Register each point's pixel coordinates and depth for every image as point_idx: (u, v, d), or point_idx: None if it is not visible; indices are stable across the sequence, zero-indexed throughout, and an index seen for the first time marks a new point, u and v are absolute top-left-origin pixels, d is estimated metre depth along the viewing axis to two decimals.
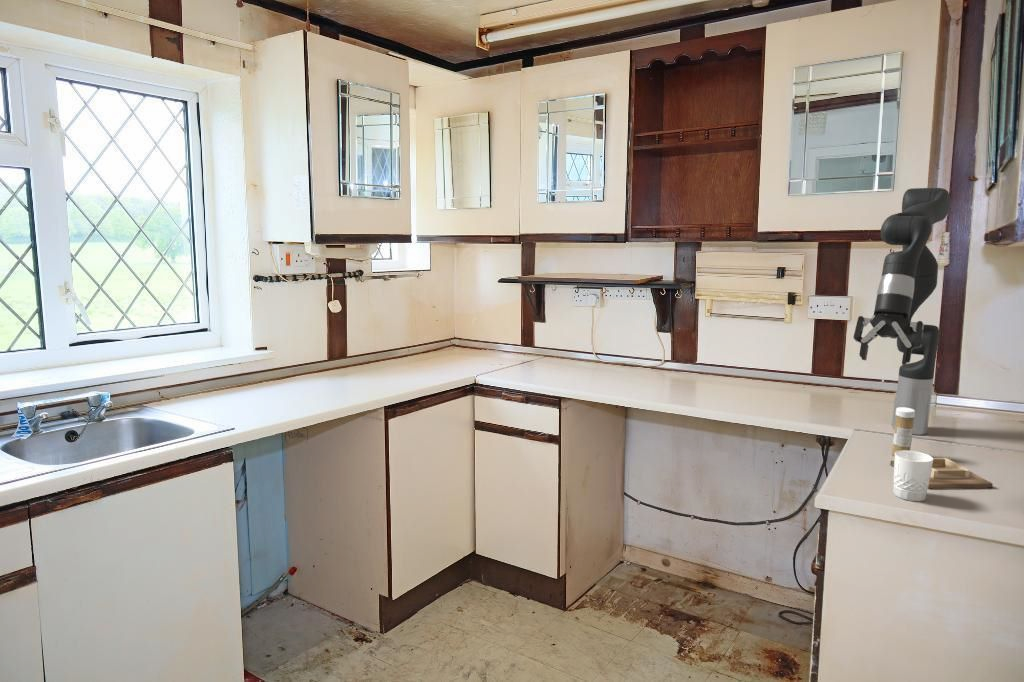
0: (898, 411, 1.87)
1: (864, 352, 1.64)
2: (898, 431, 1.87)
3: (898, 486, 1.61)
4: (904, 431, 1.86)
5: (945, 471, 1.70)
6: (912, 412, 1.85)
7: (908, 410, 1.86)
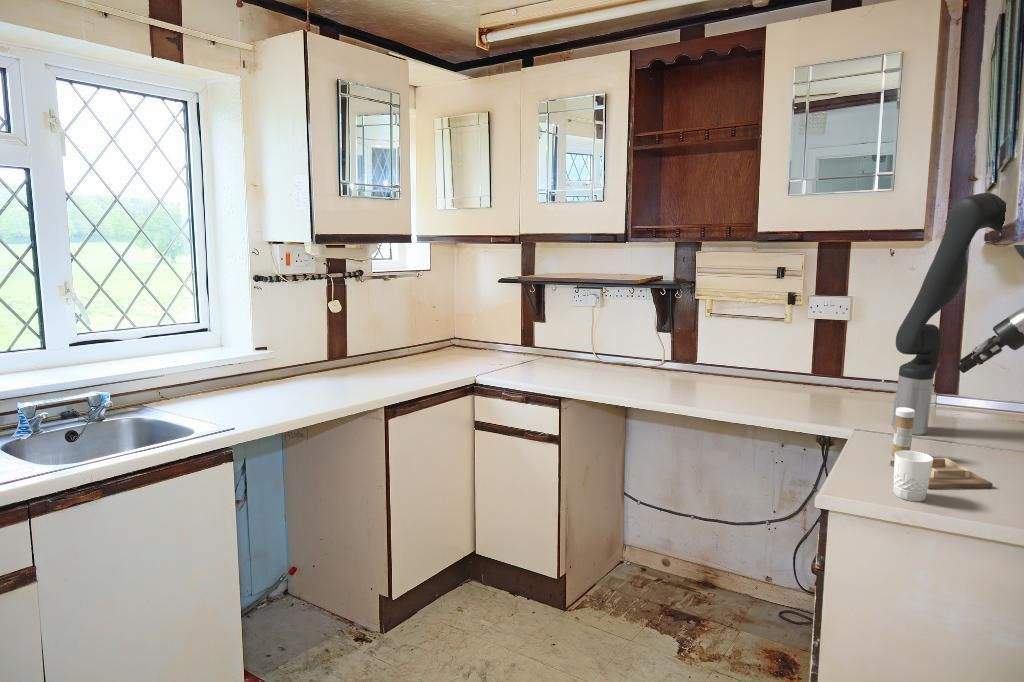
0: (898, 411, 1.87)
1: (969, 369, 1.74)
2: (898, 431, 1.87)
3: (898, 486, 1.61)
4: (904, 431, 1.86)
5: (945, 471, 1.70)
6: (912, 412, 1.85)
7: (908, 410, 1.86)
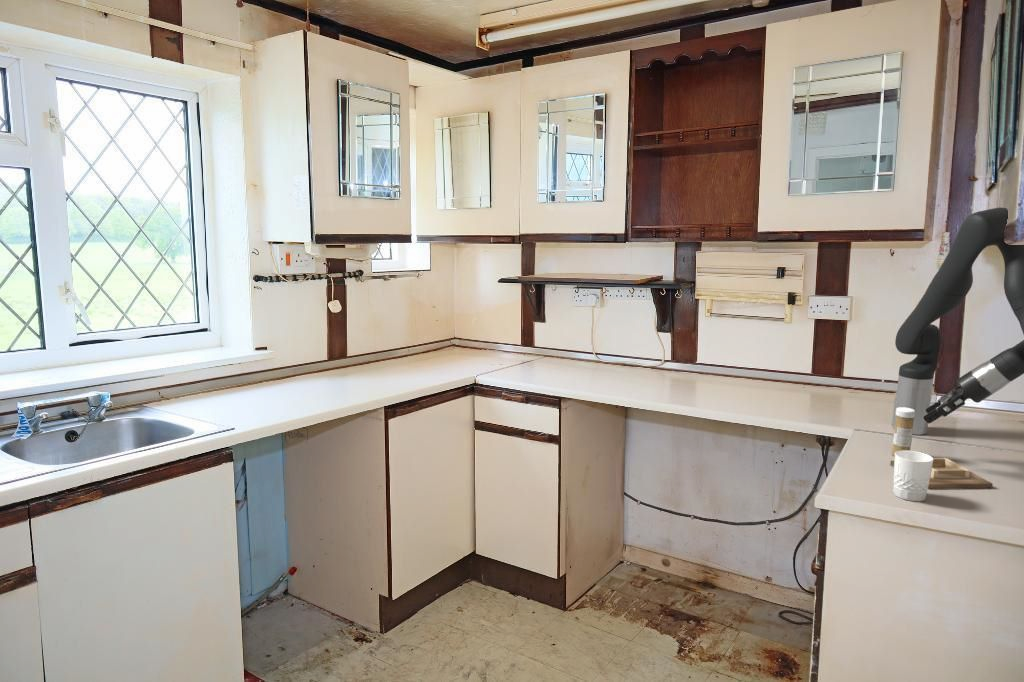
0: (898, 411, 1.87)
1: (934, 420, 1.80)
2: (898, 431, 1.87)
3: (898, 486, 1.61)
4: (904, 431, 1.86)
5: (945, 471, 1.70)
6: (912, 412, 1.85)
7: (908, 410, 1.86)
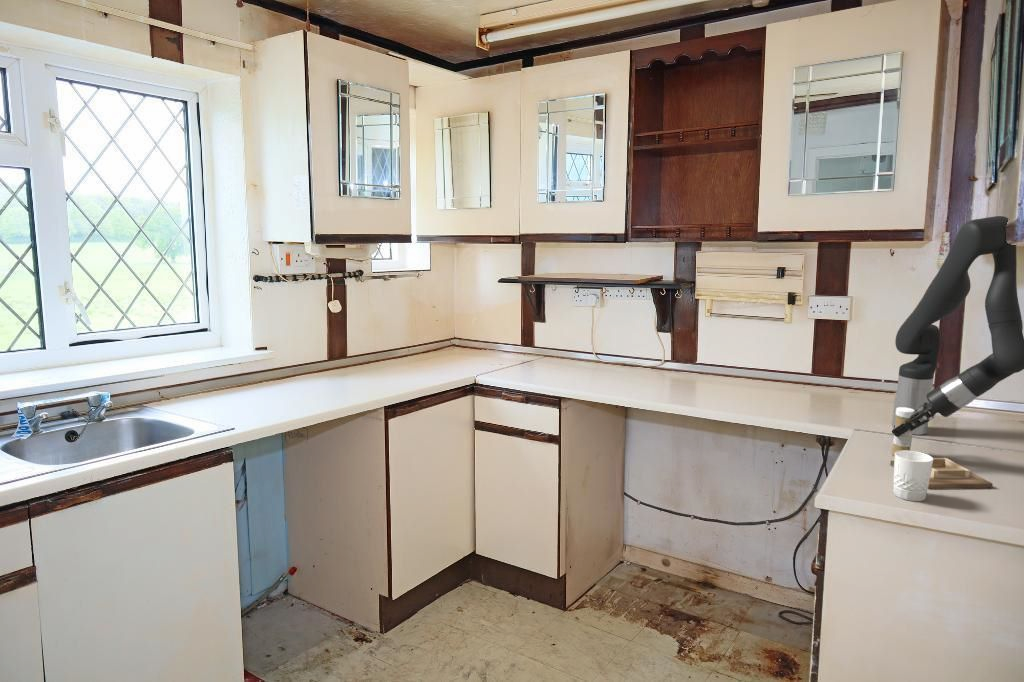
0: (898, 411, 1.87)
1: (901, 434, 1.87)
2: None
3: (898, 486, 1.61)
4: None
5: (945, 471, 1.70)
6: (912, 412, 1.85)
7: (908, 410, 1.86)
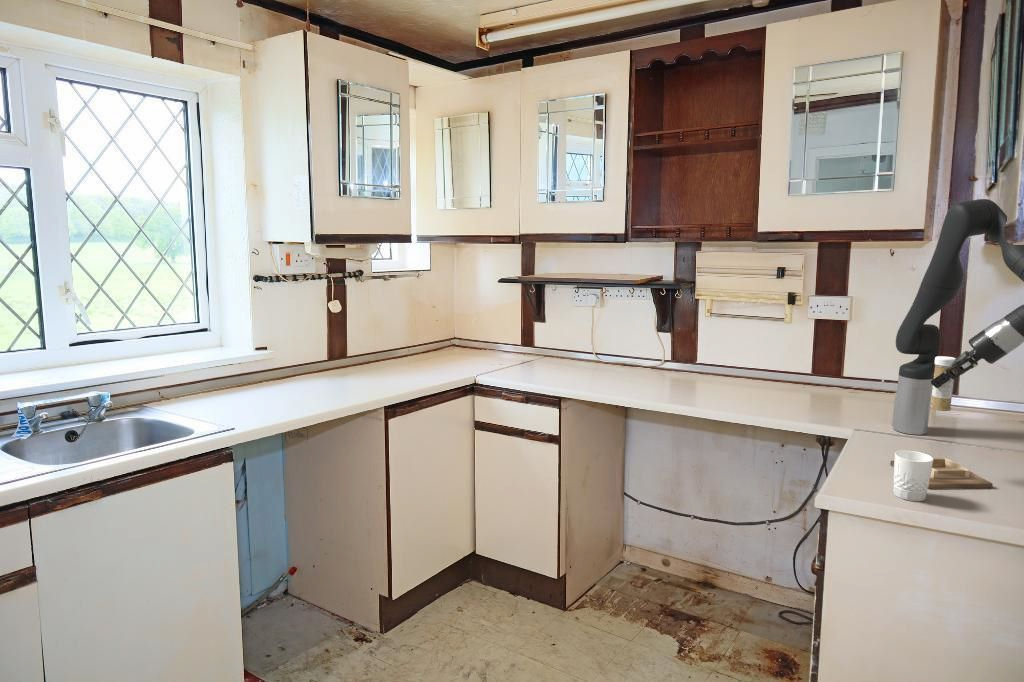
0: (937, 359, 1.72)
1: (942, 384, 1.71)
2: None
3: (898, 486, 1.61)
4: None
5: (945, 471, 1.70)
6: (953, 360, 1.70)
7: (948, 358, 1.71)
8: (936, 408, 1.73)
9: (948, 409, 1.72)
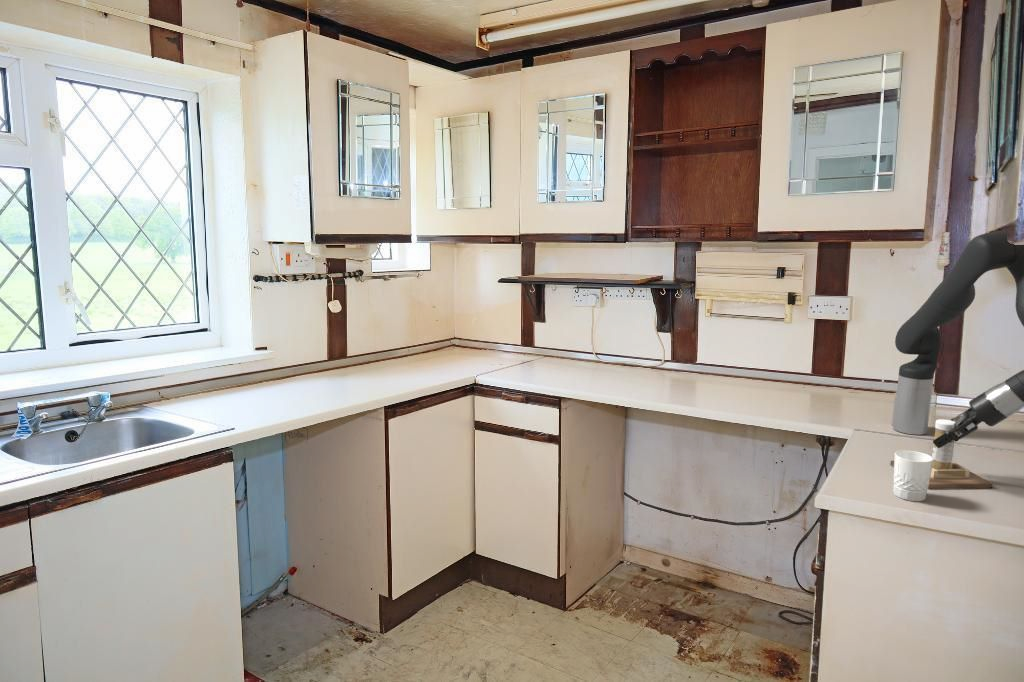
0: (938, 424, 1.72)
1: (944, 444, 1.70)
2: None
3: (898, 486, 1.61)
4: (944, 446, 1.71)
5: (945, 471, 1.70)
6: None
7: (949, 423, 1.71)
8: None
9: None
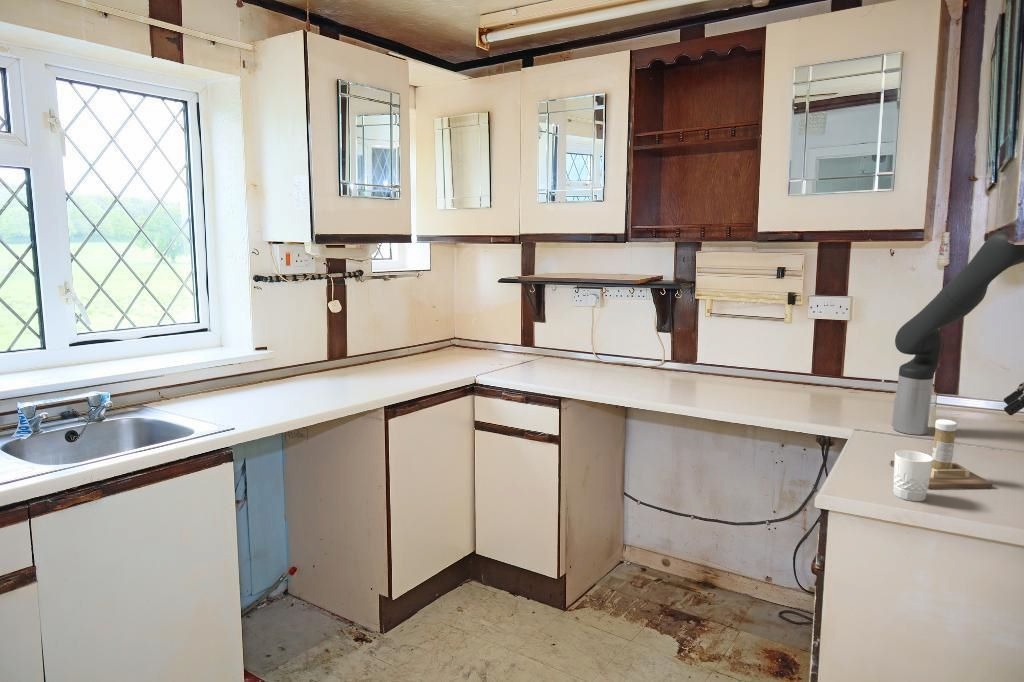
0: (938, 424, 1.72)
1: None
2: (938, 446, 1.72)
3: (898, 486, 1.61)
4: (944, 446, 1.71)
5: (945, 471, 1.70)
6: (954, 425, 1.70)
7: (949, 423, 1.71)
8: None
9: None
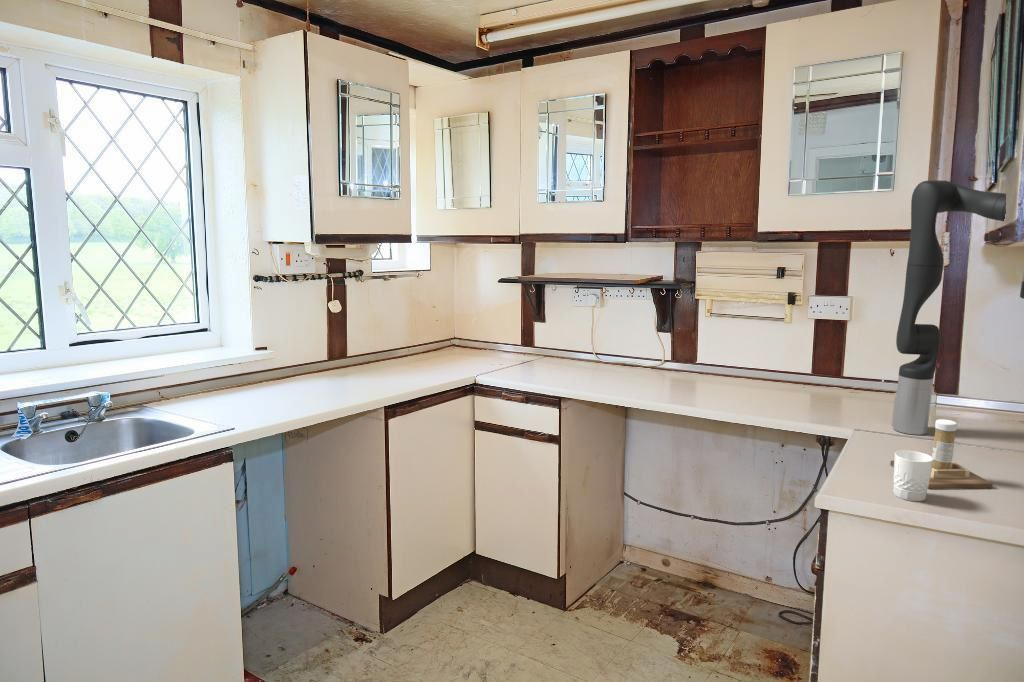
0: (938, 424, 1.72)
1: None
2: (938, 446, 1.72)
3: (898, 486, 1.61)
4: (944, 446, 1.71)
5: (945, 471, 1.70)
6: (954, 425, 1.70)
7: (949, 423, 1.71)
8: None
9: None
